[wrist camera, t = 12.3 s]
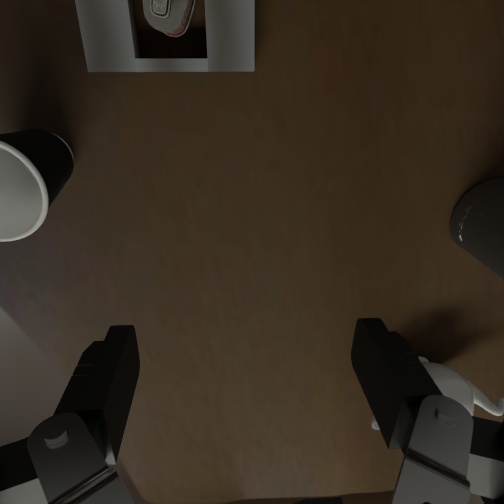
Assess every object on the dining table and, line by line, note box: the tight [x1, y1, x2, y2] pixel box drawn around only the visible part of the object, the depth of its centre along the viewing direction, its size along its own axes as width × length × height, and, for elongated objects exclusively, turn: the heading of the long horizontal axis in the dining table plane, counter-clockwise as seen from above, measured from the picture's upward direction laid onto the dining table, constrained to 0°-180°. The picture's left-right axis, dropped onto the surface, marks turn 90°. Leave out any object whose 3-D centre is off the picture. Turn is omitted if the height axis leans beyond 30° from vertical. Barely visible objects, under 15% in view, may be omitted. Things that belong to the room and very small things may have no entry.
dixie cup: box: [0, 130, 74, 241], centre depth 31 cm, size 8×8×11 cm
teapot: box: [371, 357, 504, 430], centre depth 51 cm, size 10×20×9 cm, turn 87°
